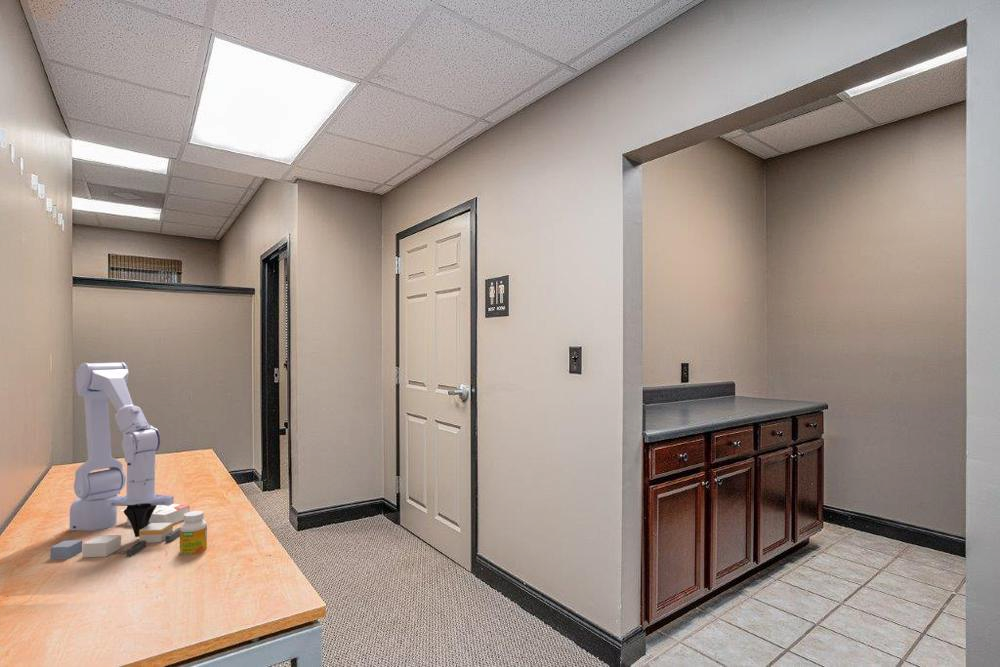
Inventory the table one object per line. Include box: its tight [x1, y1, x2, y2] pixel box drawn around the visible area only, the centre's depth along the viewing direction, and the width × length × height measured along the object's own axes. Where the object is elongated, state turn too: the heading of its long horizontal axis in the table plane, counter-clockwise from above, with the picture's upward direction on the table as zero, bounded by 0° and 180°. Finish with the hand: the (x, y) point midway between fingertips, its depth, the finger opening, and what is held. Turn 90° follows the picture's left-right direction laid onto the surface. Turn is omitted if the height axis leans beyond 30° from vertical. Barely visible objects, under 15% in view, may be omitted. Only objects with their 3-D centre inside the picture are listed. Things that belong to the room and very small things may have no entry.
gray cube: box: [49, 539, 83, 560], centre depth 118 cm, size 4×4×4 cm
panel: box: [117, 527, 180, 558], centre depth 124 cm, size 16×16×3 cm
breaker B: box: [82, 534, 122, 558], centre depth 119 cm, size 5×5×3 cm
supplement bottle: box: [179, 510, 208, 556], centre depth 121 cm, size 5×5×10 cm
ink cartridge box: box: [118, 503, 191, 527], centre depth 141 cm, size 9×5×15 cm
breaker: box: [138, 523, 174, 544], centre depth 128 cm, size 5×5×3 cm
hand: (140, 535), depth 127 cm, fingers closed
